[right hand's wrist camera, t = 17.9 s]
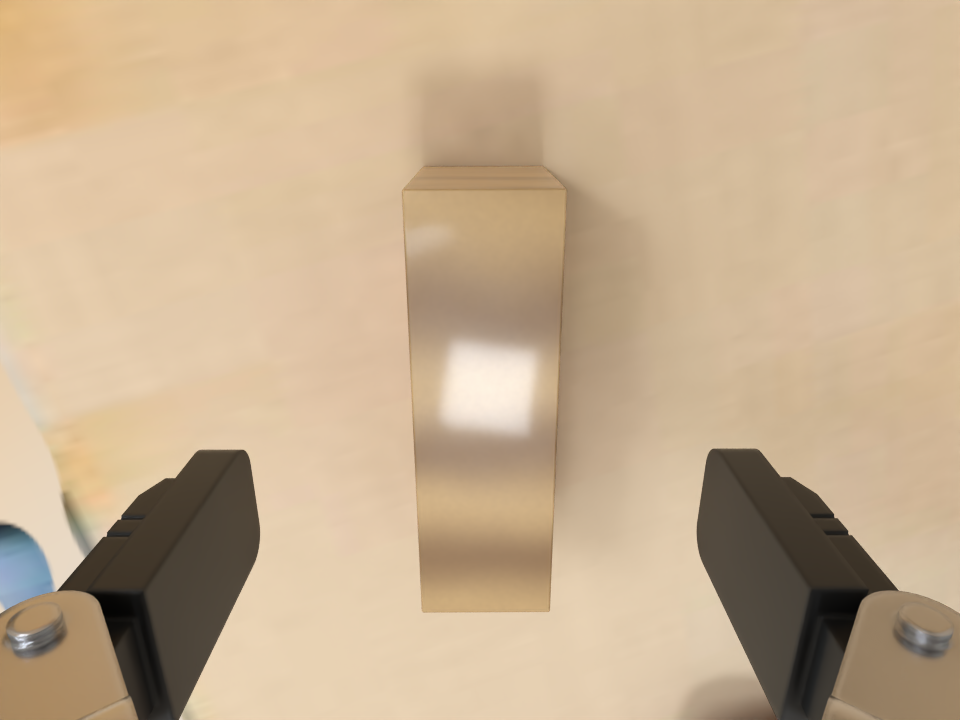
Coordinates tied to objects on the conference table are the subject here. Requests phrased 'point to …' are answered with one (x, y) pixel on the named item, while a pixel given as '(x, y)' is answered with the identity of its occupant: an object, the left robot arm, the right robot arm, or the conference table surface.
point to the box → (485, 380)
